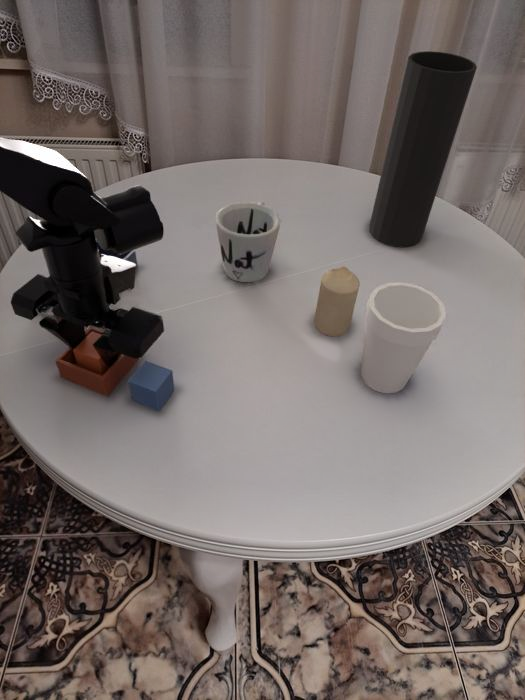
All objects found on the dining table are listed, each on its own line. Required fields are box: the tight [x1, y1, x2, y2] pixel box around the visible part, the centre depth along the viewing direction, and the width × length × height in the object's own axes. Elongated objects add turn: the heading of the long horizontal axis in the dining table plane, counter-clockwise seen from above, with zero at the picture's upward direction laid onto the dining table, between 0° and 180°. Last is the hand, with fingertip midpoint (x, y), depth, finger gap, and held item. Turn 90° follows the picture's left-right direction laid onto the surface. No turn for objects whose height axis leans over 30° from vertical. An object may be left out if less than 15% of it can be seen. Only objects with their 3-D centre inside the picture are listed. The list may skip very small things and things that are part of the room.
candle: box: [313, 266, 361, 337], centre depth 75 cm, size 6×6×10 cm
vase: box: [368, 50, 478, 248], centre depth 88 cm, size 10×10×30 cm
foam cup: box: [361, 281, 447, 394], centre depth 67 cm, size 10×9×13 cm
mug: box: [214, 201, 282, 283], centre depth 86 cm, size 10×15×10 cm
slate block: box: [128, 360, 175, 412], centre depth 66 cm, size 4×4×4 cm
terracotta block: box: [73, 332, 120, 376], centre depth 68 cm, size 4×4×4 cm
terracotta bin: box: [54, 326, 140, 398], centre depth 69 cm, size 8×8×3 cm
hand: (99, 360), depth 69 cm, fingers closed on terracotta block, 4 cm apart
